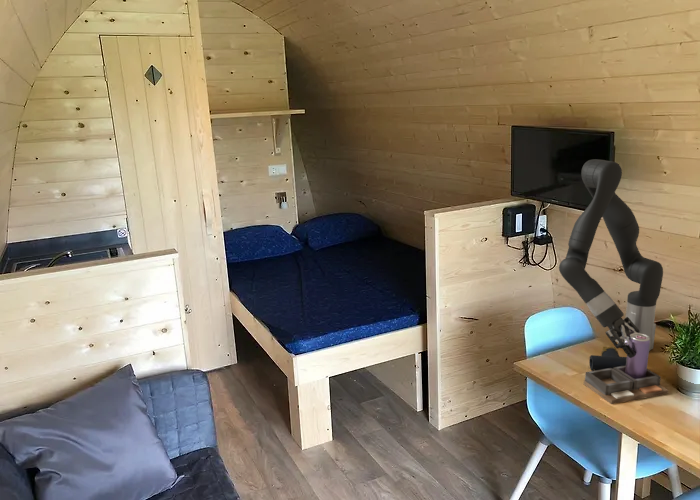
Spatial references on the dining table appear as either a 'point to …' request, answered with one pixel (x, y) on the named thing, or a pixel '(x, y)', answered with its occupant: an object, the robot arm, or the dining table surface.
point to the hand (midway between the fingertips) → (638, 352)
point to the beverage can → (638, 355)
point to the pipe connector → (607, 359)
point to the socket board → (623, 385)
